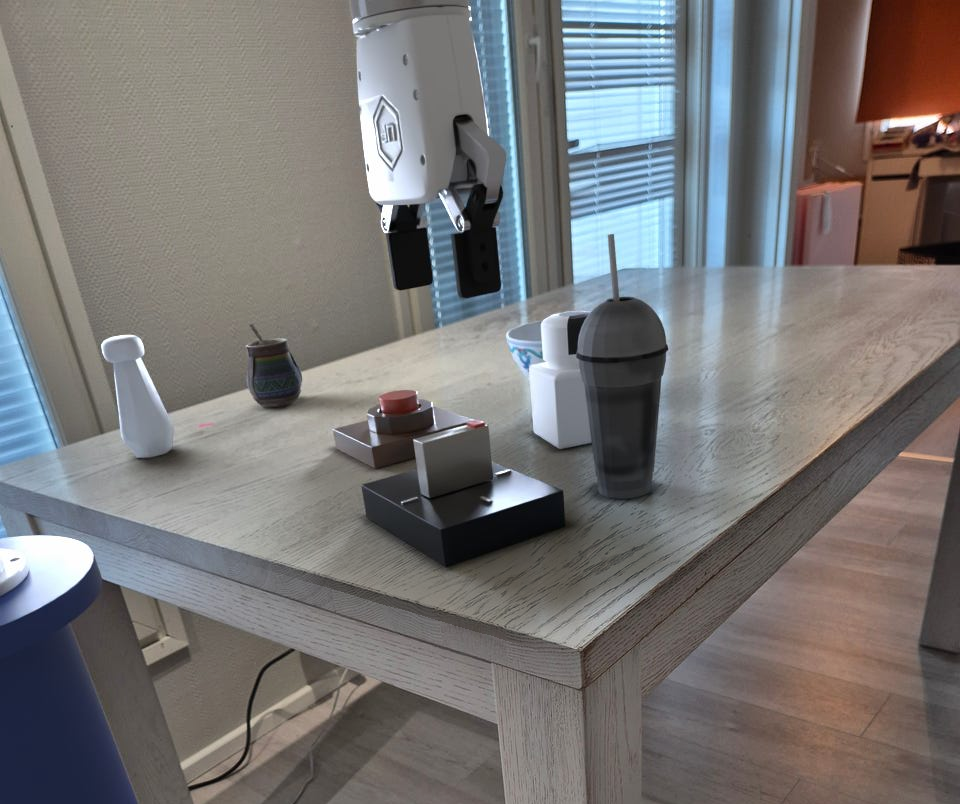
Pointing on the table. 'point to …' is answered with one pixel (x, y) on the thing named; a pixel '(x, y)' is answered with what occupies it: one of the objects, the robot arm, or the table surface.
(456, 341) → the table surface
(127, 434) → the salt shaker
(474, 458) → the brushed metal brick
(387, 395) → the button
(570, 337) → the medicine bottle
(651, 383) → the beverage cup
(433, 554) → the panel
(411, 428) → the button box
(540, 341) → the chinaware
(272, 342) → the mate gourd
